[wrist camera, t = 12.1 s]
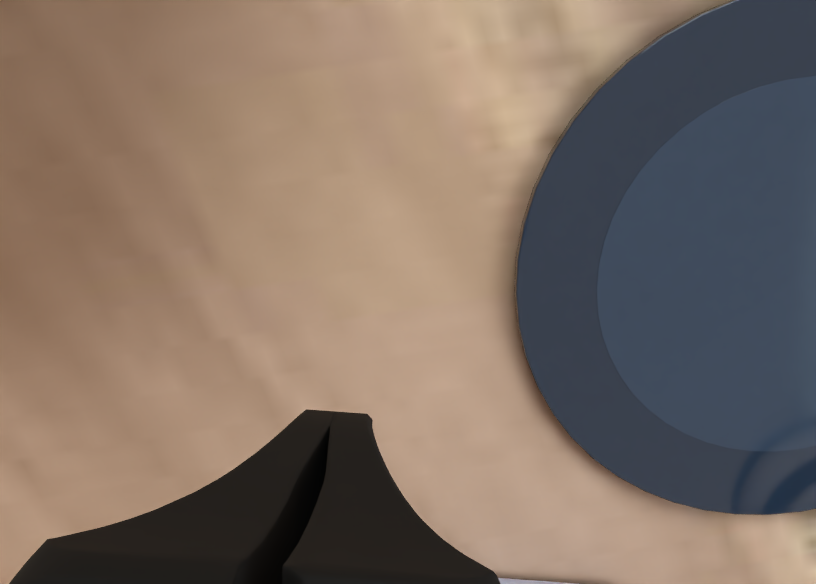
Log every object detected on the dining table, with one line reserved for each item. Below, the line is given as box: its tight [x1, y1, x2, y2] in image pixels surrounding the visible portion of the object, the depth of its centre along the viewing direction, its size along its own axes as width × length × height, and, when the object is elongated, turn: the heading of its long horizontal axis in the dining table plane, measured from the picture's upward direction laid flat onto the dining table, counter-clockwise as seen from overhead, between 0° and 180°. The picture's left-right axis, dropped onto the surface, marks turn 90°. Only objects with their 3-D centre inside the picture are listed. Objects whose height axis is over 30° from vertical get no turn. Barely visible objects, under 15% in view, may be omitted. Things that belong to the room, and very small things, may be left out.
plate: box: [514, 0, 816, 515], centre depth 22 cm, size 17×17×1 cm
